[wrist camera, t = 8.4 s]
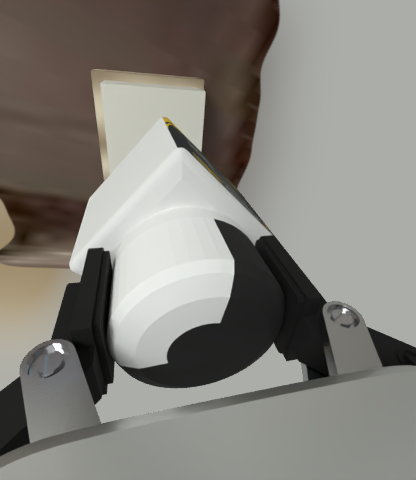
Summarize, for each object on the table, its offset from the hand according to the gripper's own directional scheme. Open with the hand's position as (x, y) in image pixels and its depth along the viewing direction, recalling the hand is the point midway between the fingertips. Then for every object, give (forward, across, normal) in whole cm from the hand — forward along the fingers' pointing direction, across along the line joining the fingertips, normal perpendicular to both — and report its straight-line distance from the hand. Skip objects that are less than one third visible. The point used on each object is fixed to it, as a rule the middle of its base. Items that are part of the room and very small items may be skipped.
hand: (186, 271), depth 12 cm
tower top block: (+26, 0, 0) cm, 26 cm away
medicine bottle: (+8, 0, 0) cm, 8 cm away
